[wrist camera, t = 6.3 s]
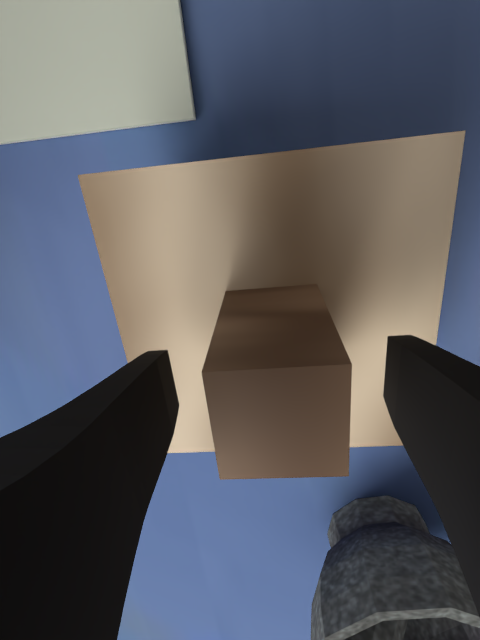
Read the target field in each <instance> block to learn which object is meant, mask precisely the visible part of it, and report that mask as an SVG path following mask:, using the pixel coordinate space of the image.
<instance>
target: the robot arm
mask: <svg viewBox="0 0 480 640" xmlns="http://www.w3.org/2000/svg"><path fill="white" fill-rule="evenodd" d="M383 397H384V400H385V403H386V406H387V409H388V412H389V415H390V418H391V420H392V423H393V426H394V428H395V430H396V432H397V434H398V436H399V438H400V440H401V442H402V444H403V445H404V447H405V449H406V451H407V453H408V455H409V457H410V459H411V461H412V463H413V465H414V466H415V468H416V470H417V472H418V474H419V476H420V478H421V480H422V482H423V483H424V485H425V487H426V489H427V491H428V493H429V495H430V497H431V499H432V501H433V503H434V505H435V507H436V509H437V511H438V513H439V515H440V518H441V520H442V522H443V525H444V527H445V530H446V532H447V535H448V537H449V540H450V542H451V544H452V547H453V549H454V552H455V554H456V557H457V559H458V562H459V565H460V567H461V570H462V572H463V575H464V578H465V580H466V583H467V585H468V588H469V591H470V593H471V596H472V598H473V601H474V604H475V606H476V609H477V612H478V615H479V617H480V367H479V366H477V365H475V364H473V363H471V362H469V361H467V360H464V359H462V358H460V357H458V356H456V355H454V354H452V353H450V352H448V351H446V350H444V349H442V348H440V347H438V346H436V345H433V344H431V343H429V342H427V341H425V340H423V339H420V338H418V337H415V336H413V335H398V336H388V337H387V351H386V364H385V378H384V391H383ZM178 411H179V401H178V396H177V392H176V387H175V382H174V377H173V373H172V368H171V363H170V358H169V354H168V350H156V351H147V352H145V353H143V354H141V355H140V356H138V357H137V358H135V359H134V360H132V361H131V362H129V363H128V364H126V365H125V366H123V367H122V368H120V369H119V370H117V371H116V372H115V373H113V374H112V375H110V376H109V377H107V378H106V379H104V380H103V381H101V382H100V383H98V384H97V385H95V386H94V387H92V388H91V389H89V390H87V391H86V392H84V393H83V394H81V395H80V396H78V397H76V398H75V399H73V400H72V401H70V402H69V403H67V404H65V405H63V406H62V407H60V408H58V409H57V410H55V411H53V412H51V413H49V414H48V415H46V416H44V417H42V418H40V419H38V420H36V421H34V422H32V423H31V424H29V425H27V426H25V427H23V428H21V429H18V430H16V431H14V432H12V433H10V434H7V435H5V436H3V437H1V438H0V640H117V636H118V631H119V627H120V622H121V617H122V612H123V607H124V602H125V598H126V593H127V589H128V584H129V580H130V576H131V571H132V567H133V562H134V558H135V554H136V550H137V546H138V542H139V538H140V534H141V530H142V526H143V522H144V519H145V515H146V512H147V509H148V506H149V503H150V500H151V497H152V494H153V492H154V489H155V486H156V483H157V480H158V478H159V475H160V472H161V469H162V467H163V464H164V461H165V458H166V455H167V452H168V450H169V447H170V444H171V441H172V438H173V435H174V430H175V426H176V421H177V416H178Z"/></svg>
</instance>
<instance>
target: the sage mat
mask: <svg viewBox="0 0 480 640" xmlns="http://www.w3.org/2000/svg"><path fill="white" fill-rule="evenodd" d="M191 120H196V116H195V108H194V101H193V93H192V86H191V78H190V71H189V63H188V56H187V48H186V41H185V34H184V26H183V19H182V11H181V4H180V0H0V145H2V144H10V143H18V142H26V141H34V140H42V139H49V138H57V137H65V136H73V135H81V134H89V133H97V132H105V131H112V130H120V129H128V128H136V127H144V126H152V125H160V124H168V123H176V122H183V121H191Z"/></svg>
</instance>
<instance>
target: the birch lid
mask: <svg viewBox="0 0 480 640" xmlns="http://www.w3.org/2000/svg"><path fill="white" fill-rule="evenodd" d="M464 138H465V131H457V132H448V133H440V134H431V135H422V136H413V137H405V138H396V139H387V140H379V141H370V142H361V143H353V144H344V145H335V146H327V147H318V148H309V149H301V150H292V151H283V152H274V153H266V154H257V155H248V156H240V157H231V158H222V159H214V160H205V161H196V162H188V163H179V164H170V165H162V166H153V167H144V168H135V169H127V170H118V171H109V172H101V173H92V174H83V175H78V178H79V182H80V186H81V189H82V193H83V197H84V201H85V204H86V208H87V212H88V216H89V219H90V223H91V227H92V231H93V234H94V238H95V242H96V245H97V249H98V253H99V257H100V260H101V264H102V268H103V272H104V275H105V279H106V283H107V287H108V290H109V294H110V298H111V302H112V305H113V309H114V313H115V316H116V320H117V324H118V328H119V331H120V335H121V339H122V343H123V346H124V350H125V354H126V358H127V361H128V363H129V362H131V361H132V360H134V359H135V358H137V357H138V356H140V355H141V354H143V353H145V352H147V351H156V350H168V354H169V358H170V363H171V368H172V373H173V377H174V382H175V387H176V392H177V396H178V401H179V411H178V416H177V421H176V426H175V430H174V435H173V438H172V441H171V444H170V447H169V450H168V452H167V453H184V452H215V454H216V460H217V466H218V471H219V477H220V479H258V478H299V477H340V476H349V448H350V447H369V446H400V445H403V444H402V442H401V440H400V438H399V436H398V434H397V432H396V430H395V428H394V426H393V423H392V420H391V418H390V415H389V412H388V409H387V406H386V403H385V400H384V397H383V391H384V378H385V364H386V351H387V337H388V336H398V335H413V336H415V337H418V338H420V339H423V340H425V341H427V342H429V343H431V344H433V345H436V341H437V334H438V326H439V319H440V312H441V305H442V297H443V290H444V283H445V276H446V268H447V261H448V254H449V247H450V239H451V232H452V225H453V218H454V210H455V203H456V196H457V189H458V181H459V174H460V167H461V160H462V152H463V145H464Z"/></svg>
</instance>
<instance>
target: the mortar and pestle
mask: <svg viewBox="0 0 480 640" xmlns="http://www.w3.org/2000/svg"><path fill="white" fill-rule="evenodd" d="M328 538H329V543H330V546H331V549H330V550H329V551H328V553H327V556H326V559H325V562H324V565H323V568H322V571H321V574H320V577H319V581H318V584H317V588H316V591H315V595H314V598H313V602H312V613H311V640H480V617H479V615H478V612H477V609H476V606H475V604H474V601H473V598H472V596H471V593H470V591H469V588H468V585H467V583H466V580H465V578H464V575H463V572H462V570H461V567H460V565H459V562H458V559H457V557H456V554H455V552H454V549H453V547H452V545H451V544H450V543H449V542H448V541H446V540H443V539H441V538H438V537H435V536H433V535H430V533H429V531H428V528H427V526H426V524H425V522H424V520H423V518H422V517H421V515H420V513H419V512H418V510H417V508H416V506H415V505H412V504H410V503H407V502H404V501H401V500H398V499H396V498H393V497H390V496H379V497H370V498H361V499H355V500H354V501H352V502H351V503H349V504H348V505H346V506H345V507H343V508H341V509H340V510H338V511H337V512H335V513H334V514H333V516H332V519H331V523H330V526H329V530H328Z"/></svg>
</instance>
